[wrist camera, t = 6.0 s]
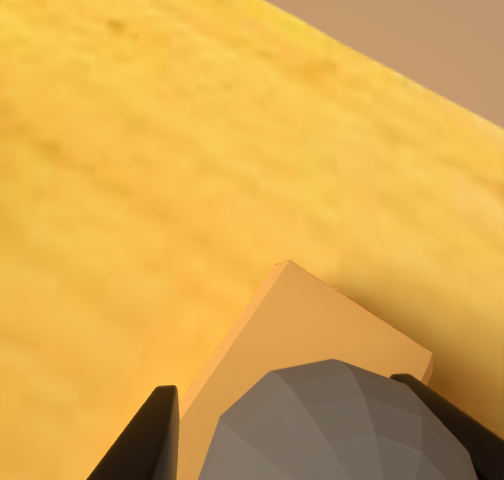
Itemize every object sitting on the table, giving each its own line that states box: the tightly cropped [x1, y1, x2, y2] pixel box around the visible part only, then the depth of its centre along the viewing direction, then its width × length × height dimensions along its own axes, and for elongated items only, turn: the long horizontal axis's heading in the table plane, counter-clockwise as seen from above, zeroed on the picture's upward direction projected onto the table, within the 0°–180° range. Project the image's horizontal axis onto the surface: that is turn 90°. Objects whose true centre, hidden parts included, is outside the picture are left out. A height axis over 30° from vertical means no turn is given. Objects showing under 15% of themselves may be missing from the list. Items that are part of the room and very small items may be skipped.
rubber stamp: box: [176, 260, 478, 480], centre depth 9 cm, size 10×6×12 cm, turn 146°
